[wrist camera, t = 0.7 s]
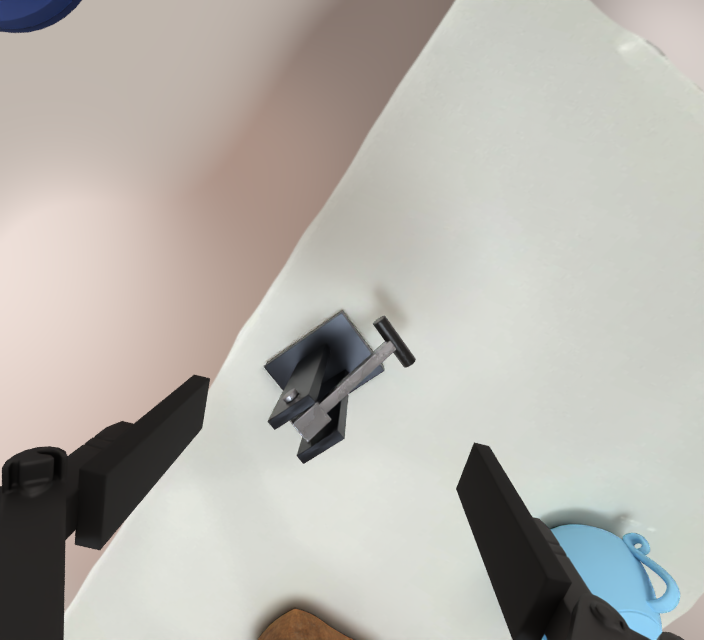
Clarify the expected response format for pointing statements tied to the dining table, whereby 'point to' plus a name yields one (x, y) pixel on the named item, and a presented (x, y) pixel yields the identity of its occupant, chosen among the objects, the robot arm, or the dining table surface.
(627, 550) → the teapot
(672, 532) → the dining table surface
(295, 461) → the dining table surface
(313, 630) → the bread
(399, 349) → the lever
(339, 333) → the bracket
